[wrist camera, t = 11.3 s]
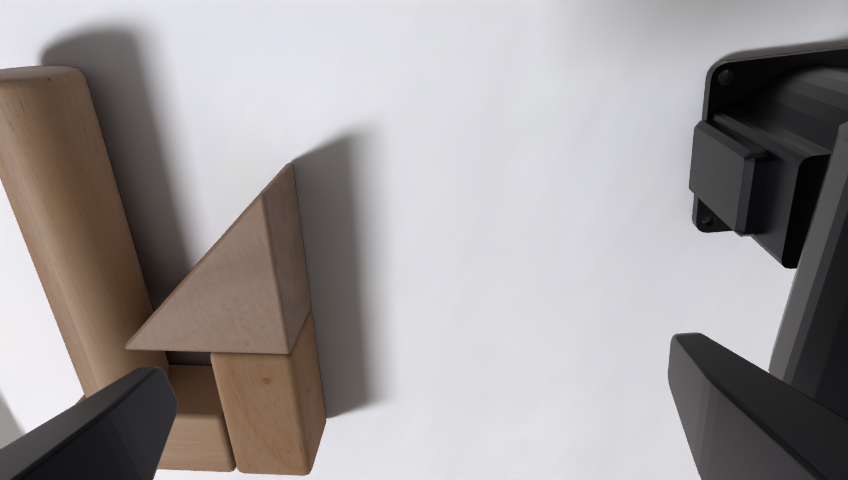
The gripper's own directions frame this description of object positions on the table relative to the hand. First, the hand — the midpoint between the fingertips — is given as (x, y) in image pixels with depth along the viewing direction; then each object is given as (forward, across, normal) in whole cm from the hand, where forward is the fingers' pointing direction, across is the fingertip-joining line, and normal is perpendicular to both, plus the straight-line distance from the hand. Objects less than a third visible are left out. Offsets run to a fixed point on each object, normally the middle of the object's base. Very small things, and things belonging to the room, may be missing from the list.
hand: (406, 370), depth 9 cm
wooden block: (+11, +13, +13) cm, 22 cm away
